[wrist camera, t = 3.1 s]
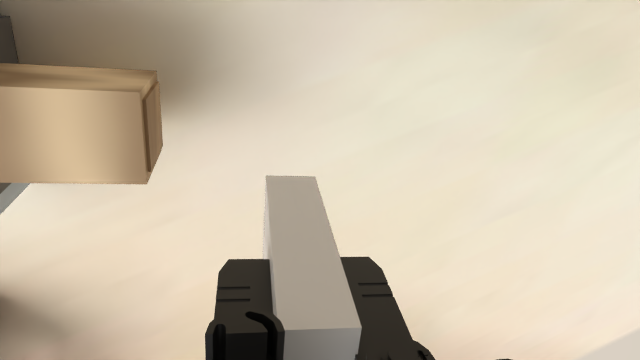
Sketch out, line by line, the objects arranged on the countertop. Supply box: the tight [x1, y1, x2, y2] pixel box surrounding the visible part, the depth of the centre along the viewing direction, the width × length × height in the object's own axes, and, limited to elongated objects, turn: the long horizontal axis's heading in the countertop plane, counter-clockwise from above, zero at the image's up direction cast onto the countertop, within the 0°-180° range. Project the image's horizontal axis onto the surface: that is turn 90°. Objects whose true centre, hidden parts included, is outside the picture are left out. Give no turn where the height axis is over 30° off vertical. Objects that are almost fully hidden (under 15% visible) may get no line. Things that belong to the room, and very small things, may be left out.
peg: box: [0, 63, 163, 184], centre depth 20 cm, size 12×4×4 cm, turn 85°
